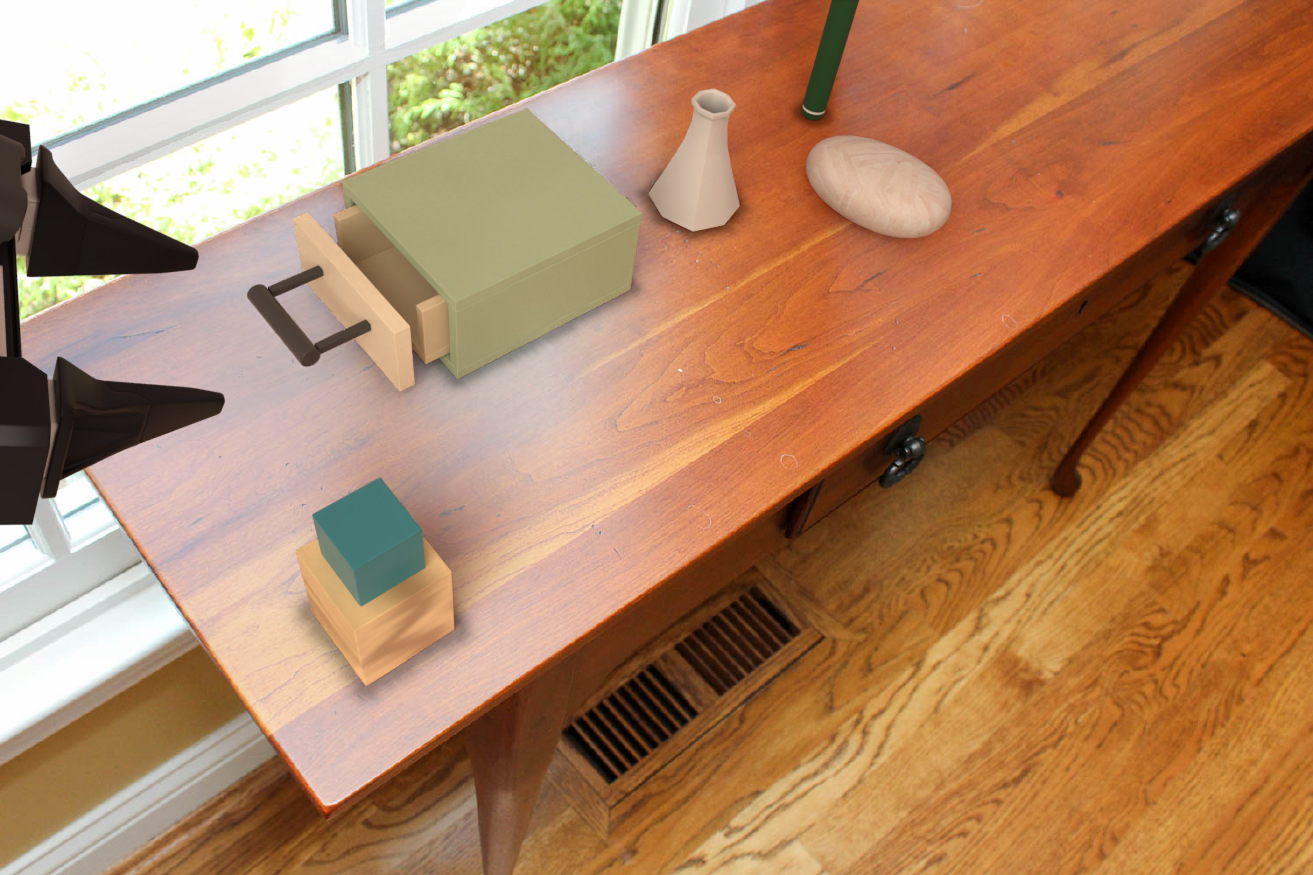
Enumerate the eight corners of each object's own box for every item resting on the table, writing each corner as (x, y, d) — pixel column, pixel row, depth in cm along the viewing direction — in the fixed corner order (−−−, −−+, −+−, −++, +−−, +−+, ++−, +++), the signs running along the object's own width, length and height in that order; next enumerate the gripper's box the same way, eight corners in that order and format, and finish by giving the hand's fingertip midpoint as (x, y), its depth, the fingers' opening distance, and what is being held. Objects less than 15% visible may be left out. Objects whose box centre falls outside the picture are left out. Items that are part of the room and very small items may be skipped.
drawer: (330, 427, 70) (319, 369, 65) (236, 309, 75) (219, 247, 70) (571, 305, 79) (576, 246, 74) (472, 206, 84) (472, 146, 79)
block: (360, 607, 56) (353, 569, 53) (320, 553, 58) (311, 514, 54) (425, 567, 58) (422, 529, 55) (385, 516, 59) (380, 476, 56)
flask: (632, 194, 89) (647, 92, 81) (695, 163, 92) (715, 62, 84) (691, 245, 86) (713, 144, 78) (754, 210, 89) (780, 110, 81)
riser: (365, 687, 61) (353, 631, 55) (311, 610, 63) (294, 550, 58) (454, 629, 64) (452, 571, 58) (399, 558, 66) (391, 496, 60)
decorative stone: (777, 198, 91) (791, 150, 87) (832, 150, 96) (847, 104, 92) (906, 274, 87) (926, 228, 83) (956, 221, 92) (978, 176, 88)
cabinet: (457, 379, 75) (455, 302, 69) (352, 262, 80) (341, 180, 74) (630, 289, 82) (642, 212, 76) (523, 187, 87) (526, 107, 81)
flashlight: (779, 97, 99) (835, -120, 83) (830, 97, 100) (896, -117, 84) (792, 132, 96) (853, -86, 81) (845, 132, 97) (916, -83, 82)
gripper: (-246, 323, 31) (290, 364, 41) (-204, -35, 41) (223, 65, 50) (-236, 536, 38) (221, 529, 48) (-202, 187, 48) (173, 239, 57)
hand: (209, 328), depth 50 cm, fingers open, 9 cm apart
